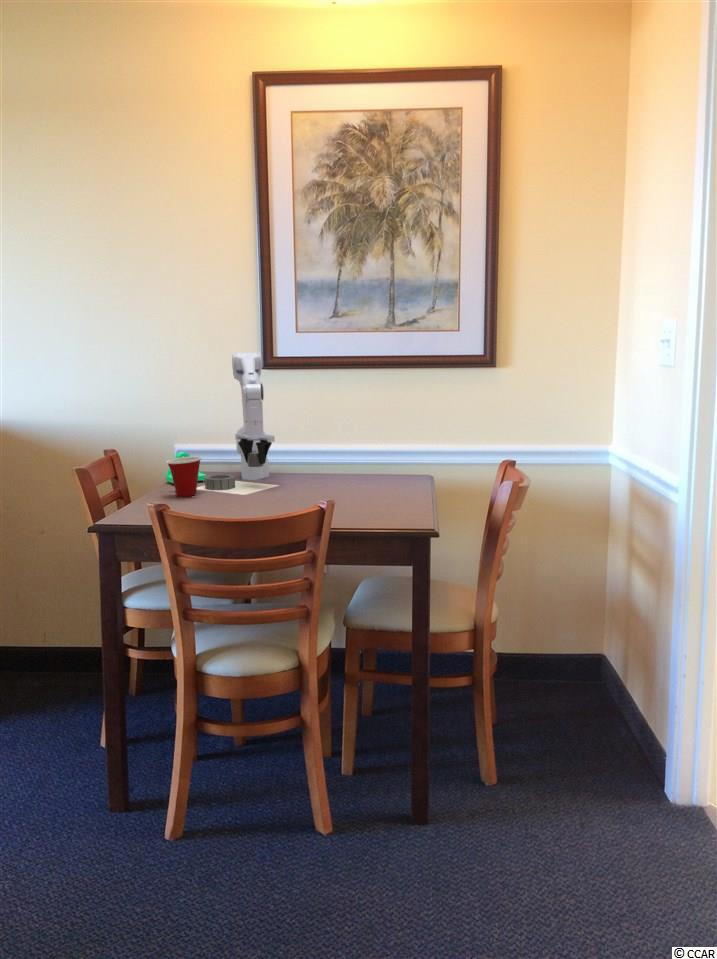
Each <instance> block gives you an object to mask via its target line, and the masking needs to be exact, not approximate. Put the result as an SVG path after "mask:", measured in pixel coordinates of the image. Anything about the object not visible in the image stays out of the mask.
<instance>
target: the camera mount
mask: <svg viewBox="0 0 717 959" xmlns="http://www.w3.org/2000/svg"><path fill="white" fill-rule="evenodd" d="M182 457H191V455H190V454H189V453H187V452H184V451H179V452H177V454H176V455H175V456H174V458H173V459H176V458H182ZM206 476H207V474H205V473H202V472H200V471H199V472H198V482H199V481H205V477H206ZM164 477H165V481H166V482H169V483H172V484H174V482H173V478H172V474H171V470H170V467H168V470H167V472H166V474H165V476H164Z"/></svg>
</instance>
